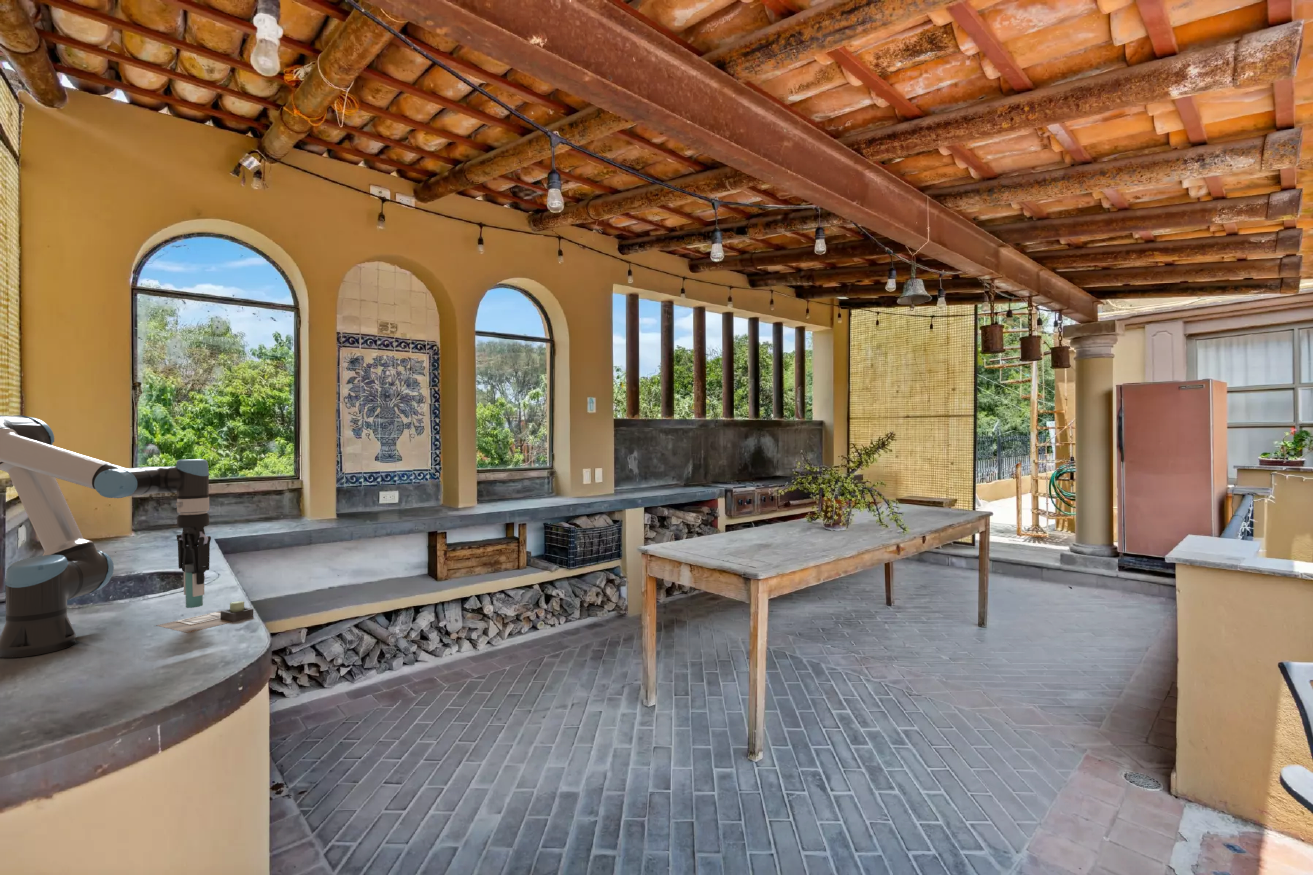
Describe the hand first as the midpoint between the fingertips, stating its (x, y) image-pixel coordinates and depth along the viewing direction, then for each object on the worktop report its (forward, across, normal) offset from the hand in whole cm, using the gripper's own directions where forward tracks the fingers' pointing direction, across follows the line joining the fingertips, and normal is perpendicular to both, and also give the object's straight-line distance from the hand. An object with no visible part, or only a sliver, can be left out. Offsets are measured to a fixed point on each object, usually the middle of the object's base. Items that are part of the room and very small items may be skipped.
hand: (194, 594), depth 186 cm
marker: (+3, 0, 0) cm, 3 cm away
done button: (+7, +3, +10) cm, 13 cm away
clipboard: (+10, -2, +4) cm, 11 cm away
